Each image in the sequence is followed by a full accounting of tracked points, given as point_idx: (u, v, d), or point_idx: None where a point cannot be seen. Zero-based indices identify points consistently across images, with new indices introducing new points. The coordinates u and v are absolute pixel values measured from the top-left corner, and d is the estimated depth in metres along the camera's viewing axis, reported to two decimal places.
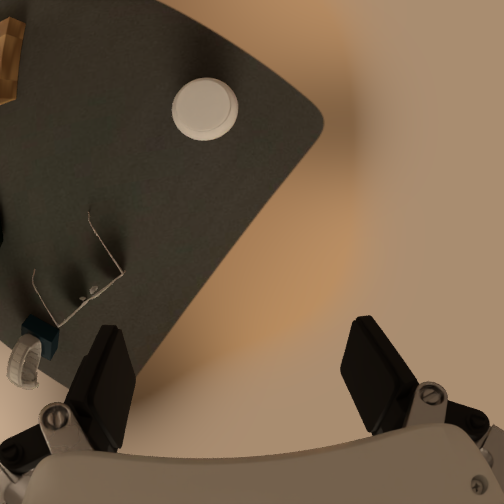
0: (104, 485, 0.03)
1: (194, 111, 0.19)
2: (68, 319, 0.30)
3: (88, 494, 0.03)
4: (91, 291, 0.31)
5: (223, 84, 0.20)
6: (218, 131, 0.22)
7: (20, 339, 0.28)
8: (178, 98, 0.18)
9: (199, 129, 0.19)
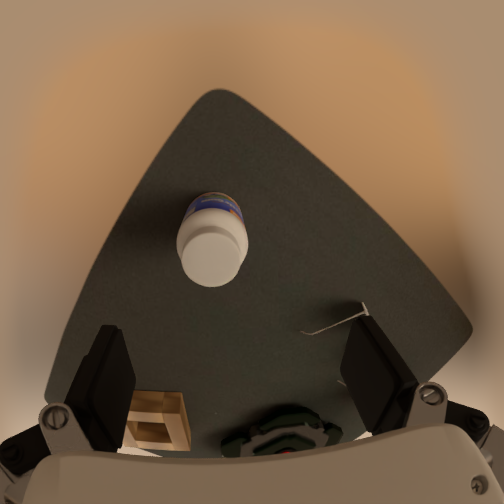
0: (104, 485, 0.03)
1: (218, 269, 0.20)
2: None
3: (88, 494, 0.03)
4: None
5: (184, 229, 0.21)
6: (239, 232, 0.21)
7: None
8: (203, 284, 0.20)
9: (239, 263, 0.20)
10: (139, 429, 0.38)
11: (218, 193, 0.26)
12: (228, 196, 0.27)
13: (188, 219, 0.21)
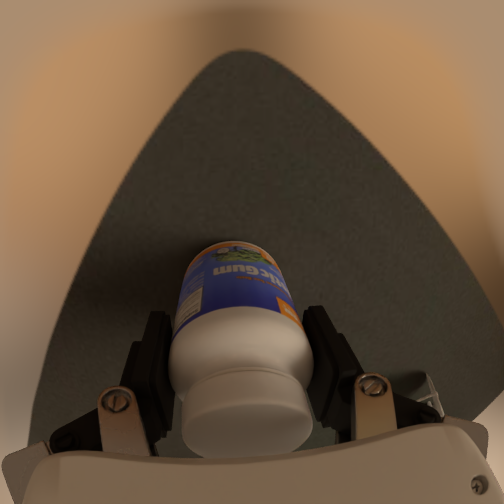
0: (104, 485, 0.03)
1: (263, 447, 0.08)
2: None
3: (88, 494, 0.03)
4: None
5: (181, 356, 0.09)
6: (303, 360, 0.09)
7: None
8: None
9: (307, 435, 0.08)
10: None
11: (242, 245, 0.15)
12: (260, 249, 0.15)
13: (189, 334, 0.09)
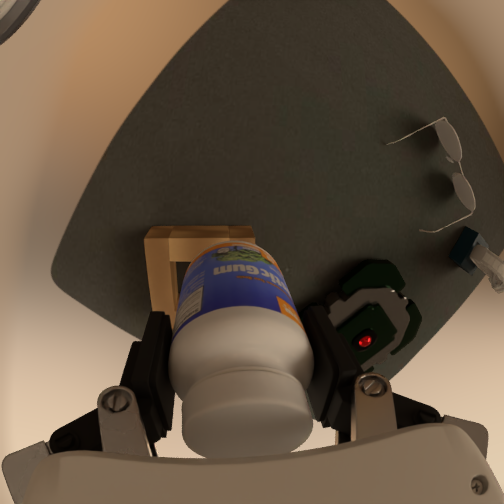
0: (104, 485, 0.03)
1: (263, 447, 0.08)
2: (472, 192, 0.29)
3: (88, 494, 0.03)
4: (451, 161, 0.29)
5: (181, 355, 0.09)
6: (303, 360, 0.09)
7: (479, 259, 0.30)
8: None
9: (308, 435, 0.08)
10: None
11: (243, 245, 0.15)
12: (260, 249, 0.15)
13: (190, 334, 0.09)
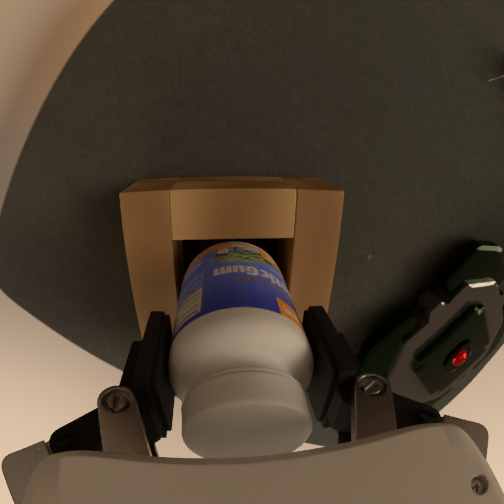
0: (104, 485, 0.03)
1: (263, 447, 0.08)
2: None
3: (88, 494, 0.03)
4: None
5: (181, 356, 0.09)
6: (303, 361, 0.09)
7: None
8: None
9: (307, 436, 0.08)
10: None
11: (242, 245, 0.15)
12: (260, 249, 0.15)
13: (189, 335, 0.09)
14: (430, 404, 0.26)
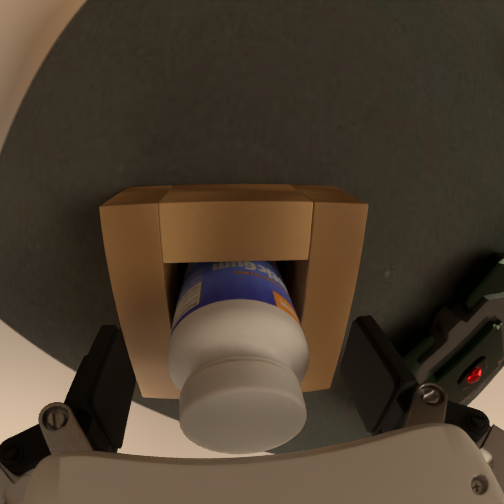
0: (104, 485, 0.03)
1: (259, 436, 0.08)
2: None
3: (88, 494, 0.03)
4: None
5: (180, 346, 0.09)
6: (297, 352, 0.10)
7: None
8: (228, 452, 0.08)
9: (302, 425, 0.08)
10: None
11: None
12: None
13: (188, 326, 0.09)
14: None
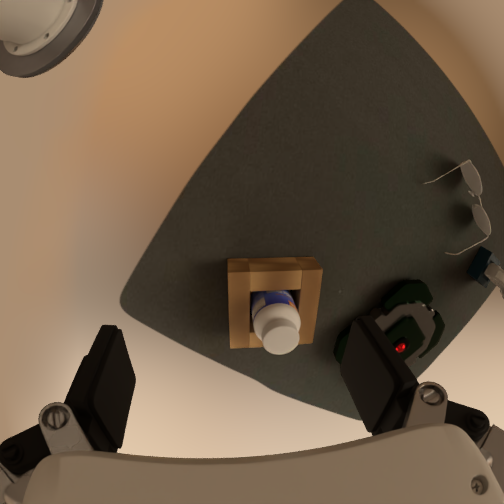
0: (104, 485, 0.03)
1: (285, 345, 0.30)
2: None
3: (88, 494, 0.03)
4: (473, 195, 0.34)
5: (261, 318, 0.32)
6: (296, 319, 0.32)
7: (493, 276, 0.34)
8: (275, 353, 0.31)
9: (298, 341, 0.30)
10: (251, 322, 0.39)
11: None
12: None
13: (263, 311, 0.32)
14: None
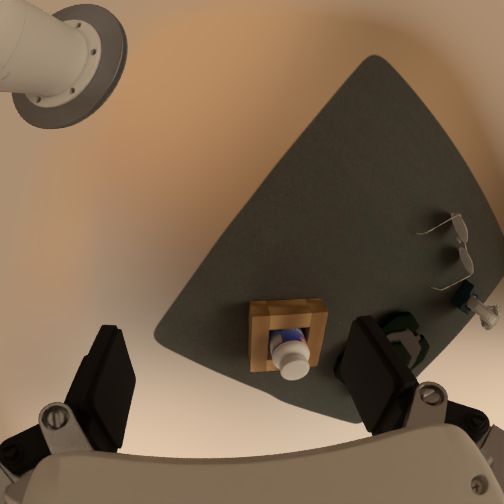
0: (104, 485, 0.03)
1: (298, 373, 0.37)
2: (472, 263, 0.40)
3: (88, 494, 0.03)
4: (459, 241, 0.41)
5: (279, 352, 0.39)
6: (307, 352, 0.39)
7: (472, 308, 0.42)
8: (290, 379, 0.38)
9: (308, 370, 0.37)
10: (267, 350, 0.45)
11: None
12: None
13: (281, 347, 0.39)
14: None
